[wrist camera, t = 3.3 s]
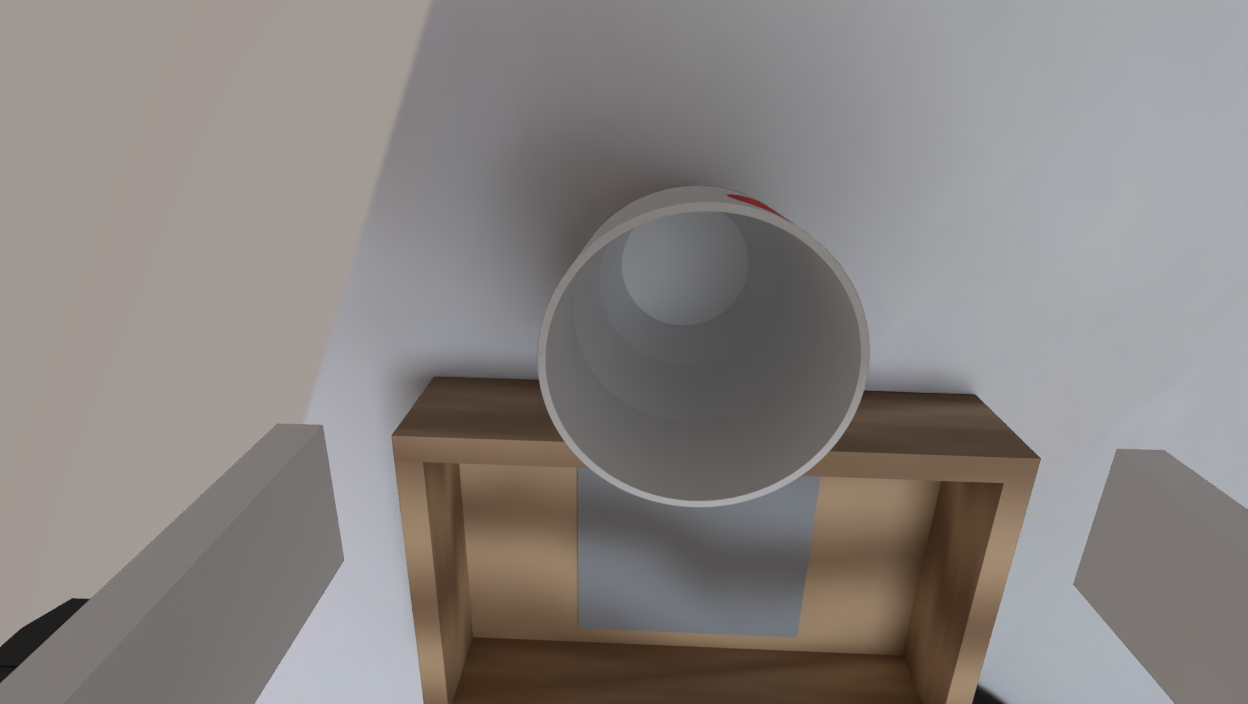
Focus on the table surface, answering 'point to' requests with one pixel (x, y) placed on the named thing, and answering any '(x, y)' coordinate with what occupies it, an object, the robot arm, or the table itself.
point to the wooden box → (706, 561)
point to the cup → (702, 349)
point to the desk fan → (982, 699)
